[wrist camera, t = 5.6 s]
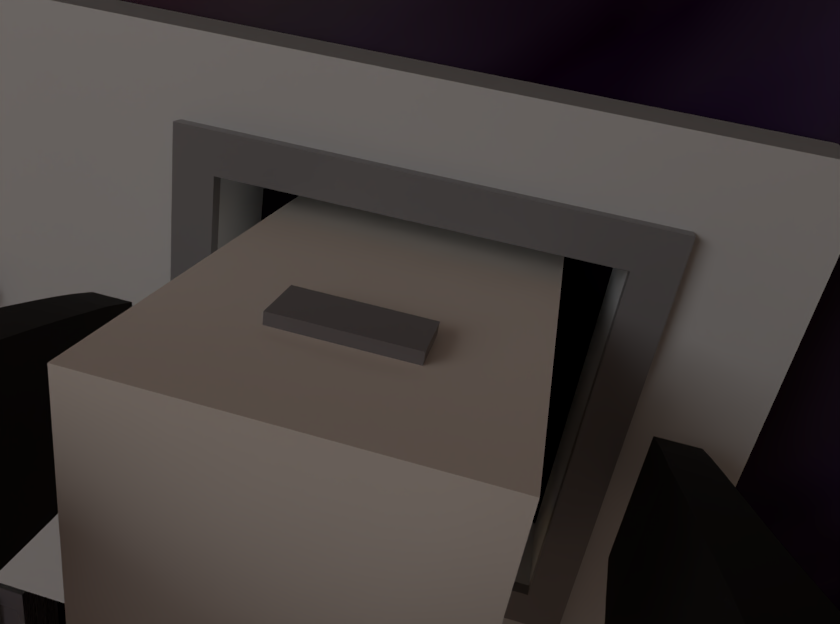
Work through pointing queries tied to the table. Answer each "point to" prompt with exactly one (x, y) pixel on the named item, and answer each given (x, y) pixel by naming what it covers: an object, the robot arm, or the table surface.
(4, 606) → the phone
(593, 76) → the table surface
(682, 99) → the table surface
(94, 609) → the block
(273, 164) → the outlet plate
